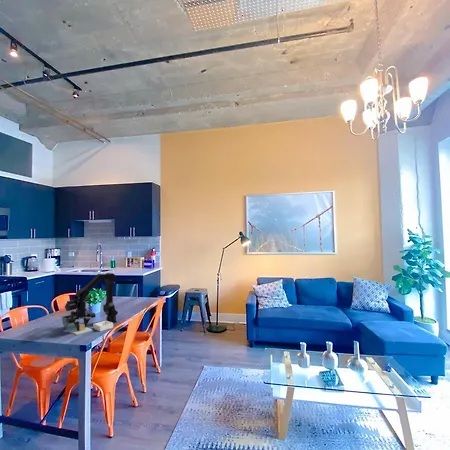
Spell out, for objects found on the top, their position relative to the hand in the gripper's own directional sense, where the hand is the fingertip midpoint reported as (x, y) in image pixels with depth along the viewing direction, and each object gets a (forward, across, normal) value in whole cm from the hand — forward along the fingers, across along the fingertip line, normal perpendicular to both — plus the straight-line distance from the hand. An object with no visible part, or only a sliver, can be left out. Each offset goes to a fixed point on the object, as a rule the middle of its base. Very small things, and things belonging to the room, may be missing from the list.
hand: (81, 329), depth 199 cm
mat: (+2, 0, 0) cm, 2 cm away
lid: (+1, 0, 0) cm, 1 cm away
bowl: (+2, -13, +7) cm, 15 cm away
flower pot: (+2, +1, -15) cm, 15 cm away
